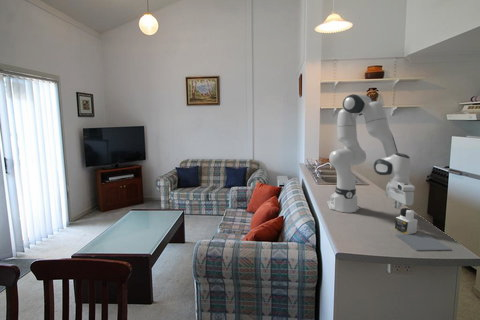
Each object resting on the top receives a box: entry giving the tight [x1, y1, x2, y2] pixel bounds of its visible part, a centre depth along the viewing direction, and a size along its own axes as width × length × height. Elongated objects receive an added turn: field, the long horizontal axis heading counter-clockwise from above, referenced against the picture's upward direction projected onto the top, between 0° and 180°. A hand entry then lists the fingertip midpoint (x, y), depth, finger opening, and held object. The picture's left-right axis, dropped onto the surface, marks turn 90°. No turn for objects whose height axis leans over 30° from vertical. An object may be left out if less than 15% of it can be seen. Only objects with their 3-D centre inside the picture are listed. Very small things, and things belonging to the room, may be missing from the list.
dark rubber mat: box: [395, 233, 452, 252], centre depth 134 cm, size 16×16×1 cm
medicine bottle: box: [394, 207, 419, 235], centre depth 146 cm, size 7×7×12 cm
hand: (397, 208), depth 154 cm, fingers closed
